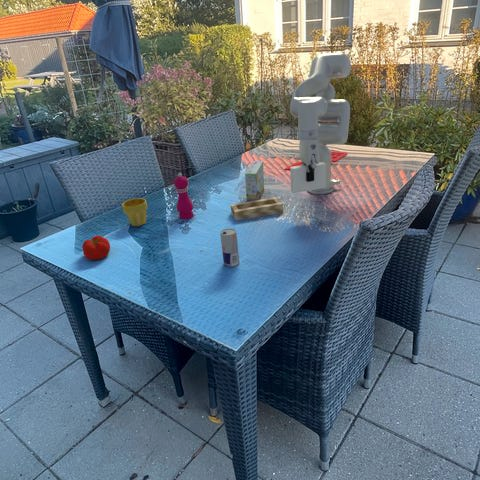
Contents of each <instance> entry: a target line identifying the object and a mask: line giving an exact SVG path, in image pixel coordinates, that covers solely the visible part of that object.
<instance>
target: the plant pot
mask: <svg viewBox="0 0 480 480" xmlns="http://www.w3.org/2000/svg"><path fill="white" fill-rule="evenodd" d="M147 202H148V201H147V200H146V198H141V197H137V198H131V199H128V200H126V201H123V203H121V208H122V211H123V213H124V214H125V215H126V218H128V221H129V223H130V225H131V226H132V227H140V226H143V225H144V224H146V223H147V209H148V203H147Z"/></svg>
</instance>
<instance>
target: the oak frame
mask: <svg viewBox="0 0 480 480" xmlns="http://www.w3.org/2000/svg"><path fill="white" fill-rule="evenodd" d="M230 213H231V215H232V217H233V219H234V220H235V221H240V220H241V221H242V220H249V219H253V218H258V217H259V218H260V217H264V216H265V217H266V216H271V215H277V214H282V213H284V203H283V202H282V201H281V200H279V198H278V197H277V196H273V197H269V198H268V197H267V198H262V199H261V198H260V200H255V201H249V202H247V201H245V202H238V203H232V204H231V203H230Z"/></svg>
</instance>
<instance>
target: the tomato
mask: <svg viewBox="0 0 480 480" xmlns="http://www.w3.org/2000/svg"><path fill="white" fill-rule="evenodd" d="M110 251H111V244H110V241H109V239H108V238H106V237H103V236H102V235H96V236H93V237H92V238H91V239H85V240H84V241H83V242H82V254H83V255H84V257H85V258H86V259H87V260H91V261H96V260H101V259H104V258H105V257H107V256H108V255H109V253H110Z"/></svg>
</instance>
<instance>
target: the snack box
mask: <svg viewBox="0 0 480 480" xmlns="http://www.w3.org/2000/svg"><path fill="white" fill-rule="evenodd" d="M264 176H265V175H264V160H253V161H252V163H251V164H250V166H249V167H248V169H247V170H246V172H245V173H244V177H245V195H246V202H249V201H255V200H261V197H262V195H263V193H264V191H265V181H264V180H265V177H264Z"/></svg>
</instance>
